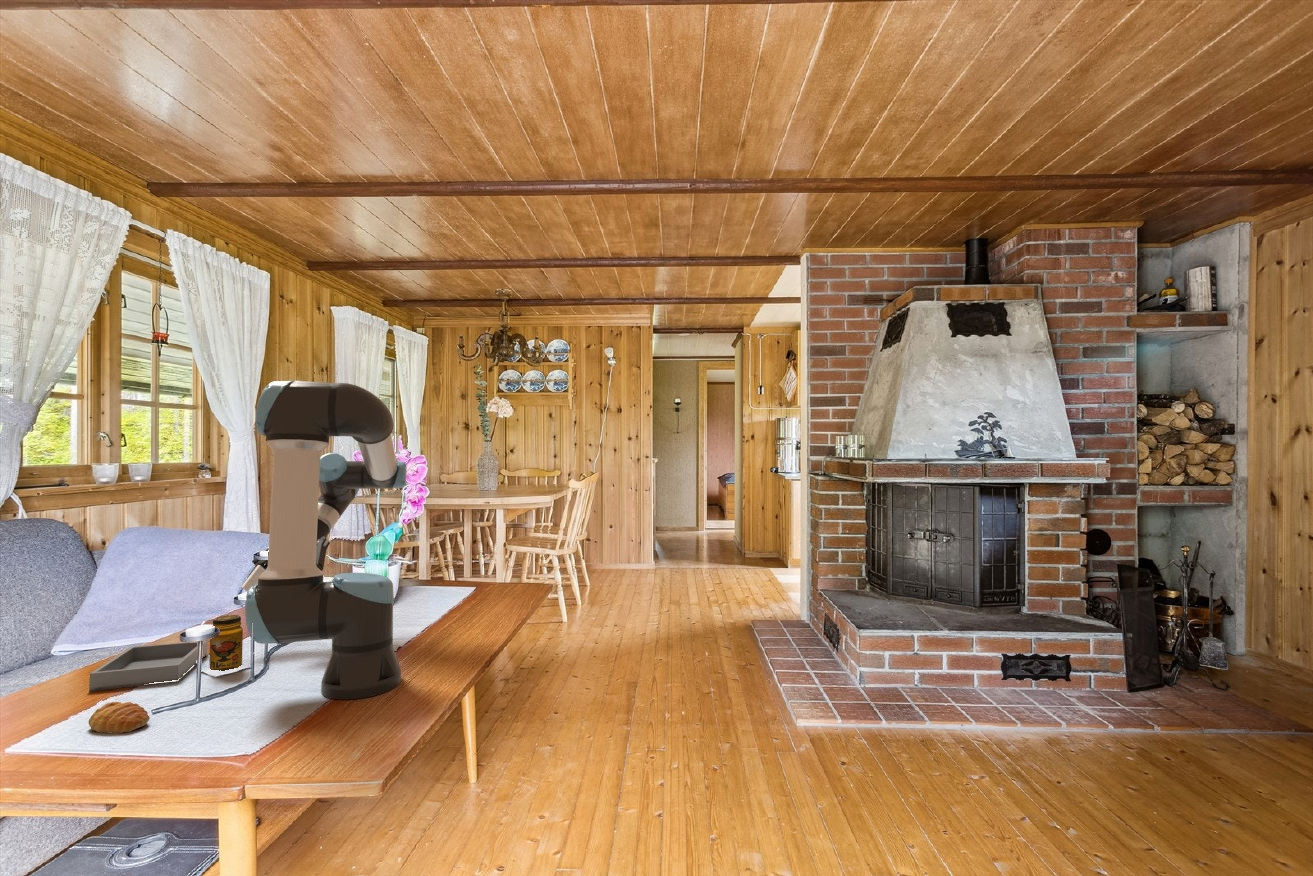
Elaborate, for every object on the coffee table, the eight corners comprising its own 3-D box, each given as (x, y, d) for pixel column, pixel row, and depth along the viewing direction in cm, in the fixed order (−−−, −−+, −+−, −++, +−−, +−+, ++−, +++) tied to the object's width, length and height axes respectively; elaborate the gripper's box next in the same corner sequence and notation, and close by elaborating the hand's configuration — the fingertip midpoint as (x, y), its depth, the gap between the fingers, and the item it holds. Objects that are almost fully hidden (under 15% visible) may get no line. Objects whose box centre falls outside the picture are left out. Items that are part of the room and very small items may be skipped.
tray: (177, 682, 130) (178, 665, 130) (89, 691, 125) (89, 673, 125) (207, 655, 148) (207, 640, 148) (130, 662, 142) (130, 646, 142)
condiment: (216, 678, 132) (218, 623, 133) (196, 671, 136) (198, 618, 137) (251, 668, 139) (253, 615, 139) (231, 662, 143) (233, 611, 143)
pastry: (161, 723, 110) (162, 701, 111) (119, 739, 104) (120, 717, 104) (124, 716, 113) (125, 695, 113) (81, 732, 107) (82, 710, 107)
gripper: (363, 534, 163) (317, 603, 148) (288, 530, 169) (237, 597, 154) (349, 516, 158) (300, 586, 143) (272, 513, 164) (217, 580, 149)
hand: (267, 592), depth 149 cm, fingers open, 13 cm apart
